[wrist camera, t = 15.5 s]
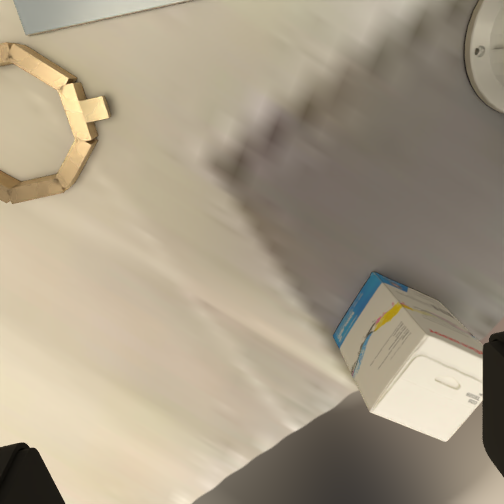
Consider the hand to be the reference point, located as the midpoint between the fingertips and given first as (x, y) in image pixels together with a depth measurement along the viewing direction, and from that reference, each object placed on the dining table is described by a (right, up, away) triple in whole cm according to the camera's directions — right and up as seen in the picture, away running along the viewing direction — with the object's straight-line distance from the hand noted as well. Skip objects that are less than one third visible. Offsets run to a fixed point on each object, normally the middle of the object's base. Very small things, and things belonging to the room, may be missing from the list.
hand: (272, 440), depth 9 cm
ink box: (+13, -3, +38) cm, 40 cm away
